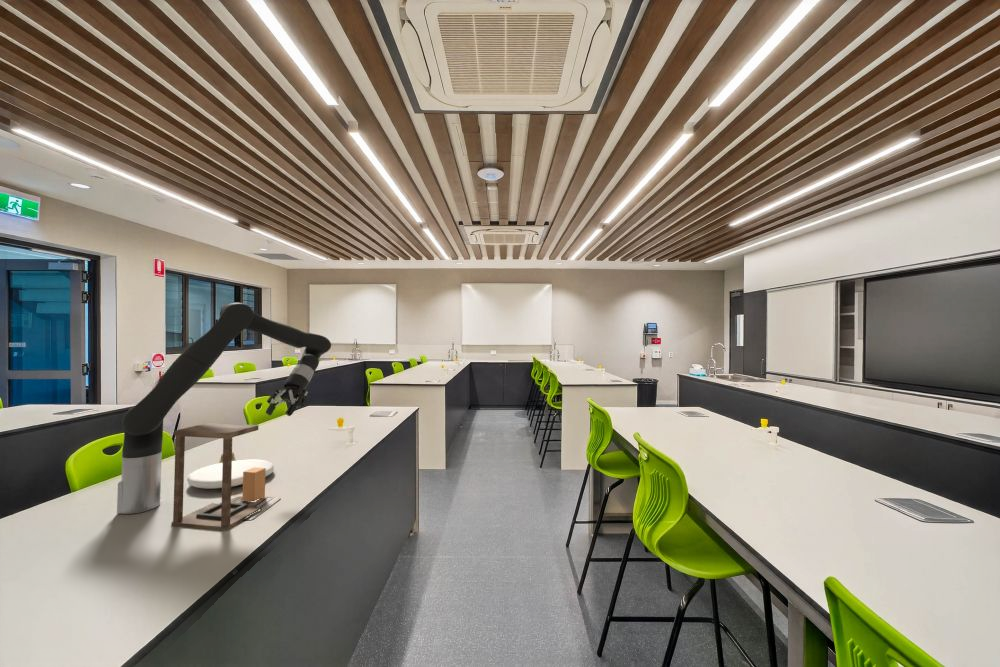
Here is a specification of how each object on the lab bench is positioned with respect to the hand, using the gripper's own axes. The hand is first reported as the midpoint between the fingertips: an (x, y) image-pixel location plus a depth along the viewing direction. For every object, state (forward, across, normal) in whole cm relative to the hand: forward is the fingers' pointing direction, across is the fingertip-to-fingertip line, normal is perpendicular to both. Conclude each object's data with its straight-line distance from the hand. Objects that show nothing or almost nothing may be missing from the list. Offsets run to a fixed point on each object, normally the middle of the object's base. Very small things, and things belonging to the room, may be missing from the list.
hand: (277, 414), depth 136 cm
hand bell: (+8, -42, +30) cm, 52 cm away
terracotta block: (+26, -2, +12) cm, 29 cm away
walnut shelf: (+35, -1, +2) cm, 35 cm away
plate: (+17, -25, +21) cm, 37 cm away
